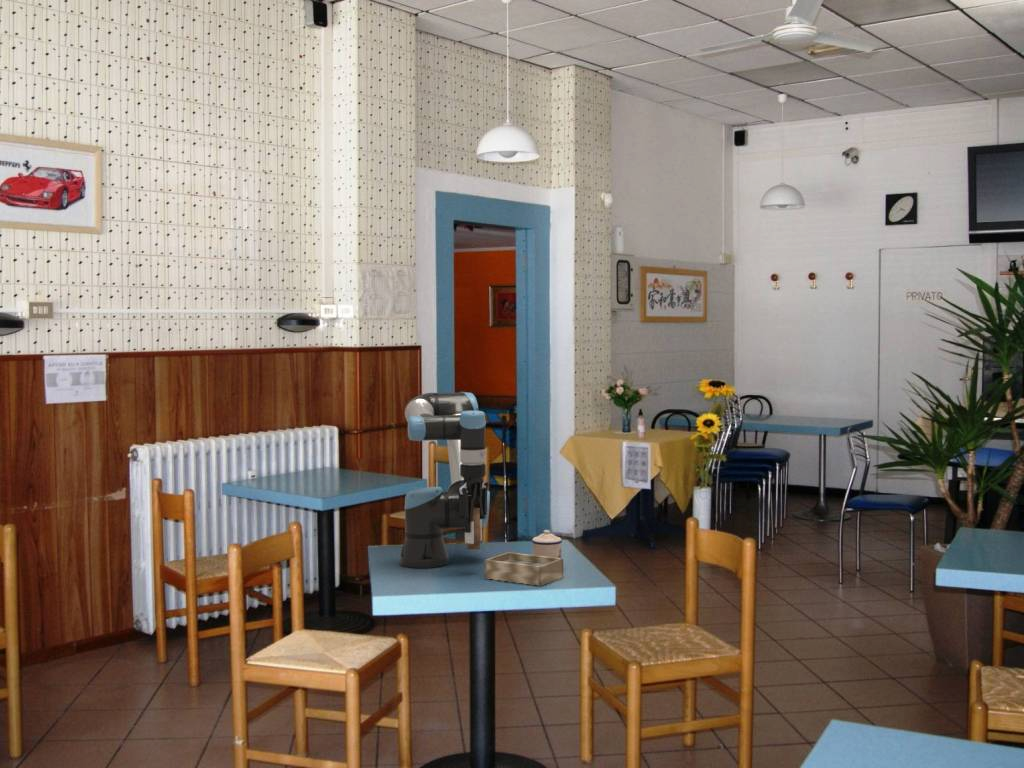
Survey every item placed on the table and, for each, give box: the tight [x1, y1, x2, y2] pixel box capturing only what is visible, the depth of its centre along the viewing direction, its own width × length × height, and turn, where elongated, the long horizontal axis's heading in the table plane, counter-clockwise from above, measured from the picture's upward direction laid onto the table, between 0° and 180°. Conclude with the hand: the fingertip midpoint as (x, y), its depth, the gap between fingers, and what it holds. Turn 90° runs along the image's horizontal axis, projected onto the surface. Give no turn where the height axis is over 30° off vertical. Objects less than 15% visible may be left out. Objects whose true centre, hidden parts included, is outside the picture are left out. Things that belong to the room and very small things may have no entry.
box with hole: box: [483, 551, 564, 587], centre depth 306 cm, size 19×13×6 cm
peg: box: [466, 507, 481, 551], centre depth 311 cm, size 4×4×12 cm
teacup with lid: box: [531, 529, 563, 558], centre depth 319 cm, size 12×9×12 cm
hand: (473, 541), depth 312 cm, fingers closed on peg, 4 cm apart
